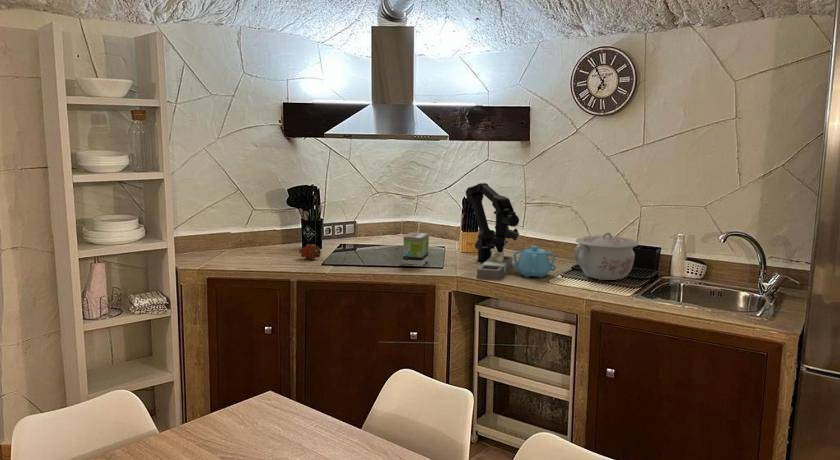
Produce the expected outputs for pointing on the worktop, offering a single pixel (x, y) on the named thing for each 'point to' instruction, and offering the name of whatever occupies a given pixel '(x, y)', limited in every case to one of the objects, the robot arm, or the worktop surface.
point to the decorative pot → (534, 262)
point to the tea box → (415, 248)
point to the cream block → (497, 256)
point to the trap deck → (494, 268)
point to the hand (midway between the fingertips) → (500, 255)
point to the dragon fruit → (310, 251)
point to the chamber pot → (605, 256)
